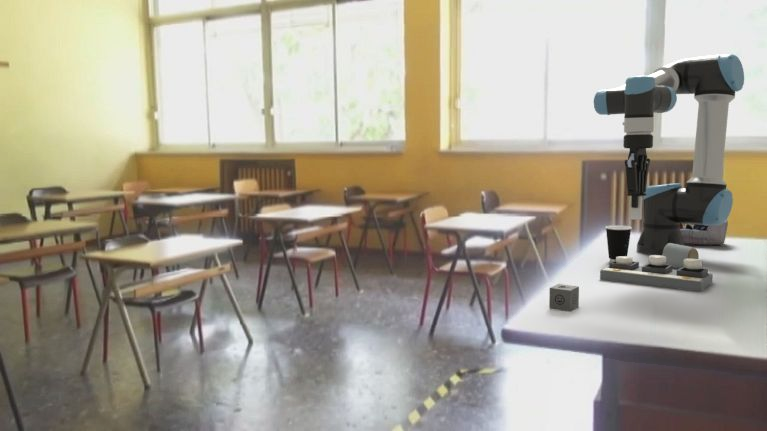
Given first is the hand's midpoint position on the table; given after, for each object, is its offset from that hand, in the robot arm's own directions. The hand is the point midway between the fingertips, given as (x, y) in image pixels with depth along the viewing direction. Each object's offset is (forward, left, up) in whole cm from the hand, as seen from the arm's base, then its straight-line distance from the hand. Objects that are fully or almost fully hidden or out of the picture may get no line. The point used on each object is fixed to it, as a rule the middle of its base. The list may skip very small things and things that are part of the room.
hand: (635, 219), depth 179 cm
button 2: (0, +15, -12) cm, 19 cm away
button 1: (0, -3, -13) cm, 14 cm away
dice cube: (+42, -2, -17) cm, 45 cm away
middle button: (0, +6, -12) cm, 13 cm away
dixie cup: (-21, -12, -17) cm, 29 cm away
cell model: (-70, -1, -17) cm, 72 cm away
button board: (+1, +6, -17) cm, 18 cm away
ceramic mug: (-19, +7, -17) cm, 27 cm away
